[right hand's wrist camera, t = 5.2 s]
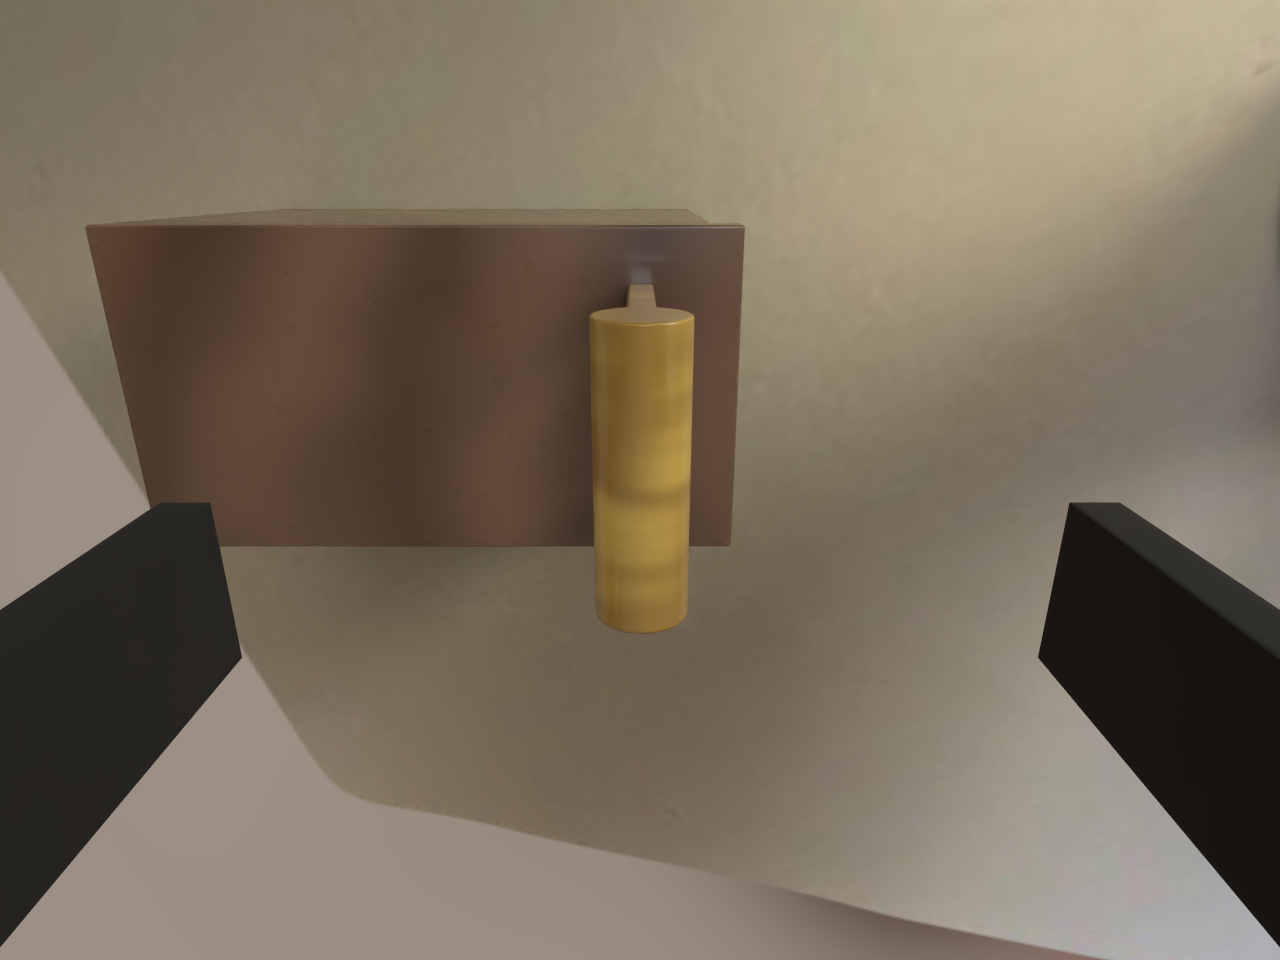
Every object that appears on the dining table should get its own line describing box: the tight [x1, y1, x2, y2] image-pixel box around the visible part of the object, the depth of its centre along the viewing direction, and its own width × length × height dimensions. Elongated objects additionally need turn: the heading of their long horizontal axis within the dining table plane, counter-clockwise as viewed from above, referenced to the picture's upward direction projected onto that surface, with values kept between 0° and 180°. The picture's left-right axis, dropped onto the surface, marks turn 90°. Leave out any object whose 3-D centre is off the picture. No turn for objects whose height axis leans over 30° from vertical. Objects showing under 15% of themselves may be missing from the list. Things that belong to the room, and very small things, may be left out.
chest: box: [119, 209, 709, 223], centre depth 29 cm, size 17×10×11 cm, turn 90°
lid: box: [85, 223, 745, 634], centre depth 20 cm, size 18×10×8 cm, turn 90°
